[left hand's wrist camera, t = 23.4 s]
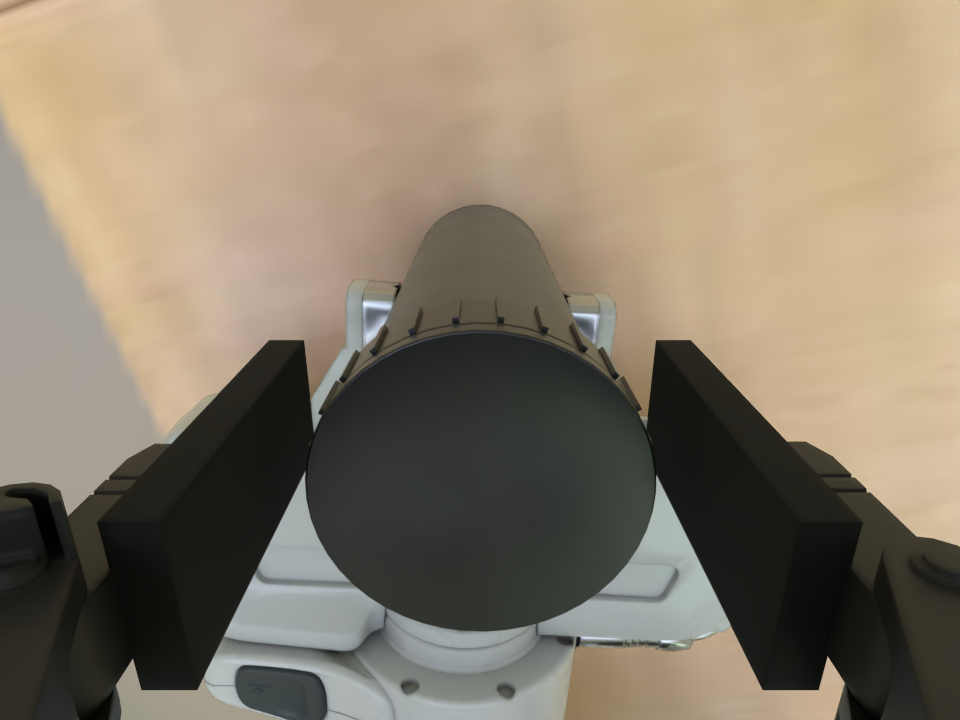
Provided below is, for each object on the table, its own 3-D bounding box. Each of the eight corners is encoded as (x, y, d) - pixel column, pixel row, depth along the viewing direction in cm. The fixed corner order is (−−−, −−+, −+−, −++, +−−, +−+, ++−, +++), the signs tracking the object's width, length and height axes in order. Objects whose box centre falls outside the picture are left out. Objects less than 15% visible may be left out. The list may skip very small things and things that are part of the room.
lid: (666, 311, 11) (699, 346, 9) (605, 582, 13) (623, 648, 11) (328, 276, 11) (300, 305, 9) (322, 557, 13) (300, 621, 11)
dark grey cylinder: (506, 180, 24) (546, 272, 10) (565, 293, 26) (674, 518, 11) (392, 244, 25) (273, 417, 11) (456, 350, 27) (428, 625, 12)
